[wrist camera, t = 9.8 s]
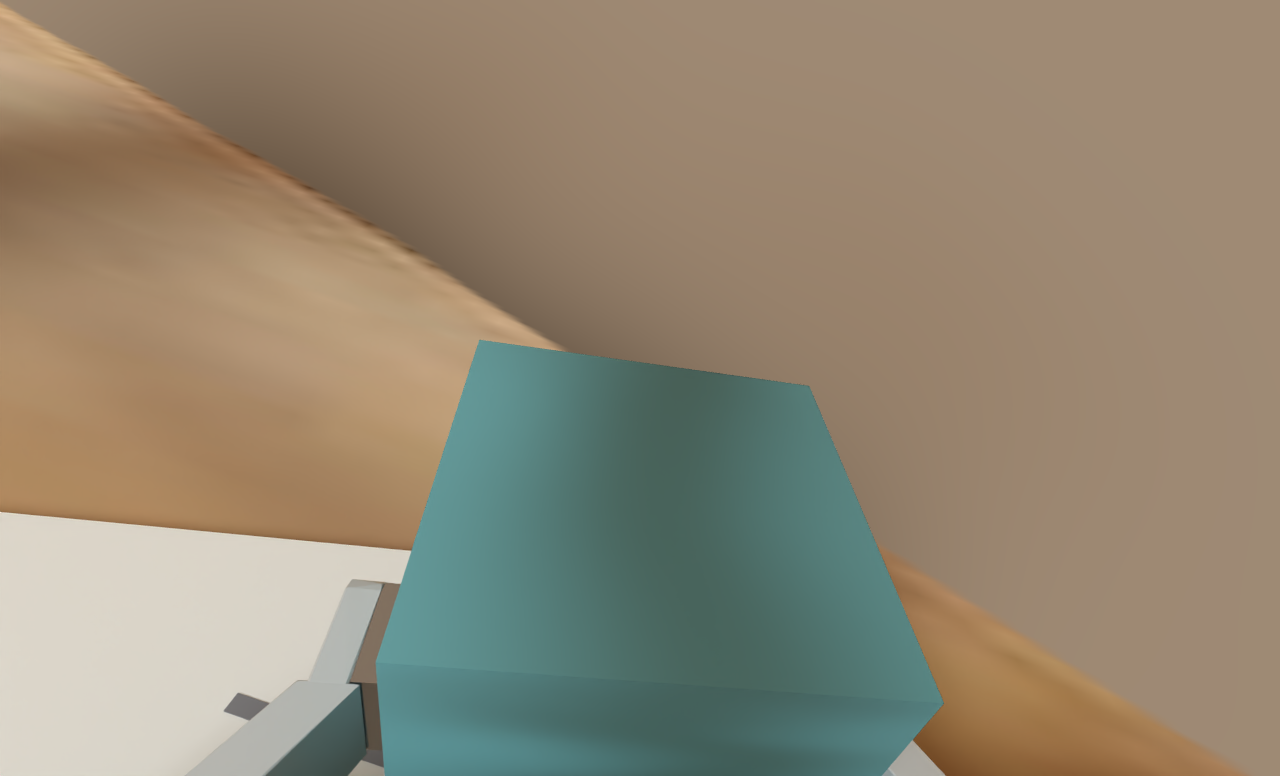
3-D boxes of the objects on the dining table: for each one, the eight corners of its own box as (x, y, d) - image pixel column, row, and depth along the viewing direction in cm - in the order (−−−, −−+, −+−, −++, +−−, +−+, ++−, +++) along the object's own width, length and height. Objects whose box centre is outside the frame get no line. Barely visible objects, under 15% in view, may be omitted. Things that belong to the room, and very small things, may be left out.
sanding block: (384, 996, 10) (340, 683, 5) (453, 673, 15) (467, 331, 9) (718, 997, 11) (974, 725, 6) (687, 689, 15) (818, 379, 10)
